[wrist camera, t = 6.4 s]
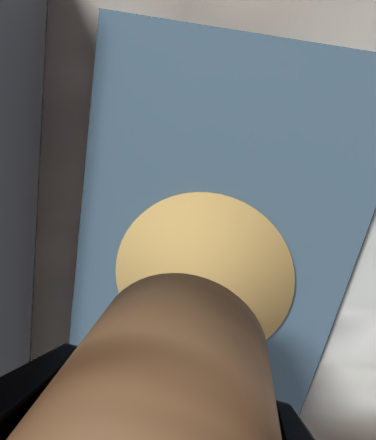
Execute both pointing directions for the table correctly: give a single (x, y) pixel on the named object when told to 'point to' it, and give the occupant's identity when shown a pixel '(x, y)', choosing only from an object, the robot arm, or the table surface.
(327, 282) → the mat
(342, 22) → the table surface
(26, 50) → the low wall
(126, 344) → the brown rounded cylinder
